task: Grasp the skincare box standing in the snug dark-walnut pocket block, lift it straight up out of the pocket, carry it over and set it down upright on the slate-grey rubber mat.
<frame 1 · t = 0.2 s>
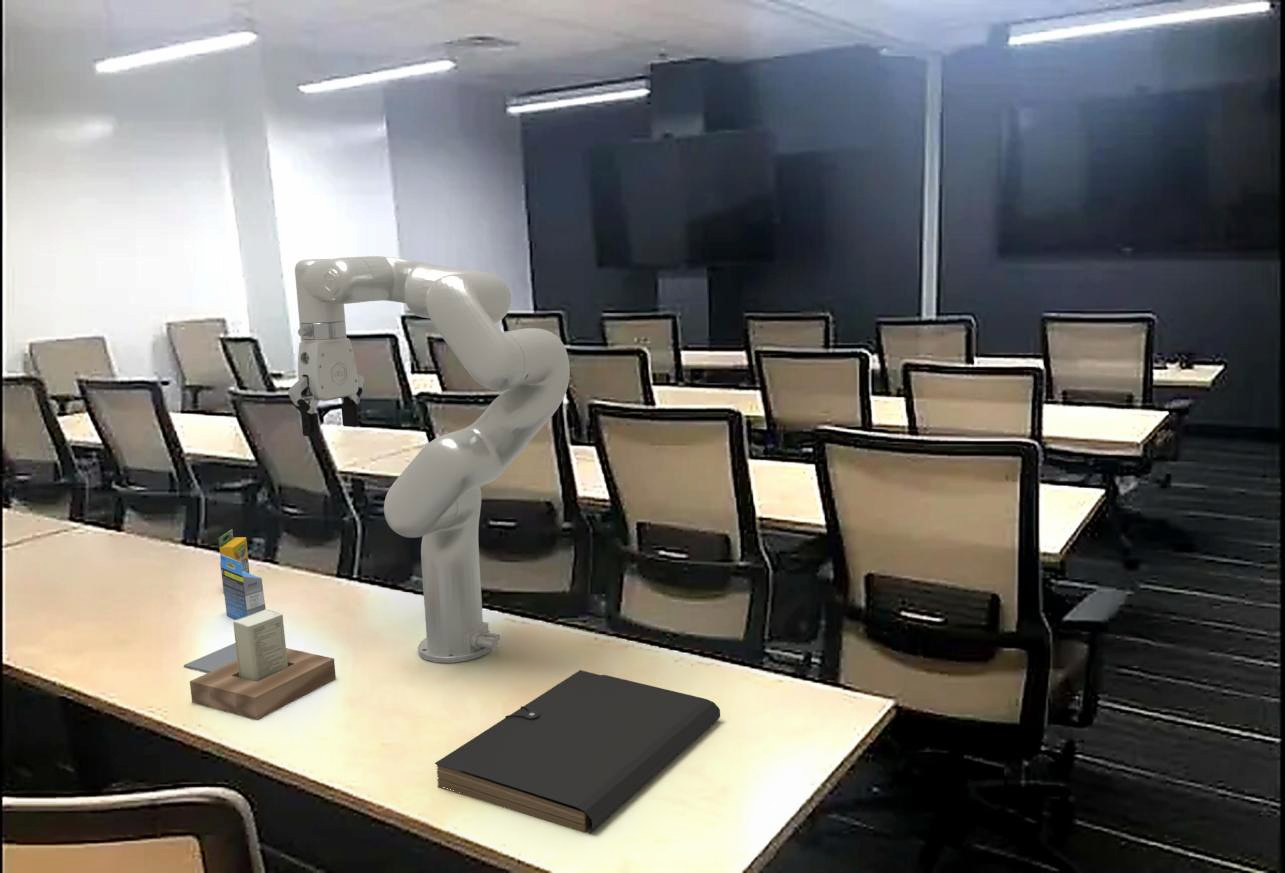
hand: (331, 431, 184), 36 cm above the table, tool pointing down, fingers open, 9 cm apart
label tape box: (246, 619, 199), on the table
slate mat: (238, 660, 179), on the table
pocket block: (265, 690, 166), on the table
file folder: (585, 757, 144), on the table
crayon box: (237, 589, 217), on the table
skincare box: (265, 692, 166), resting in pocket block
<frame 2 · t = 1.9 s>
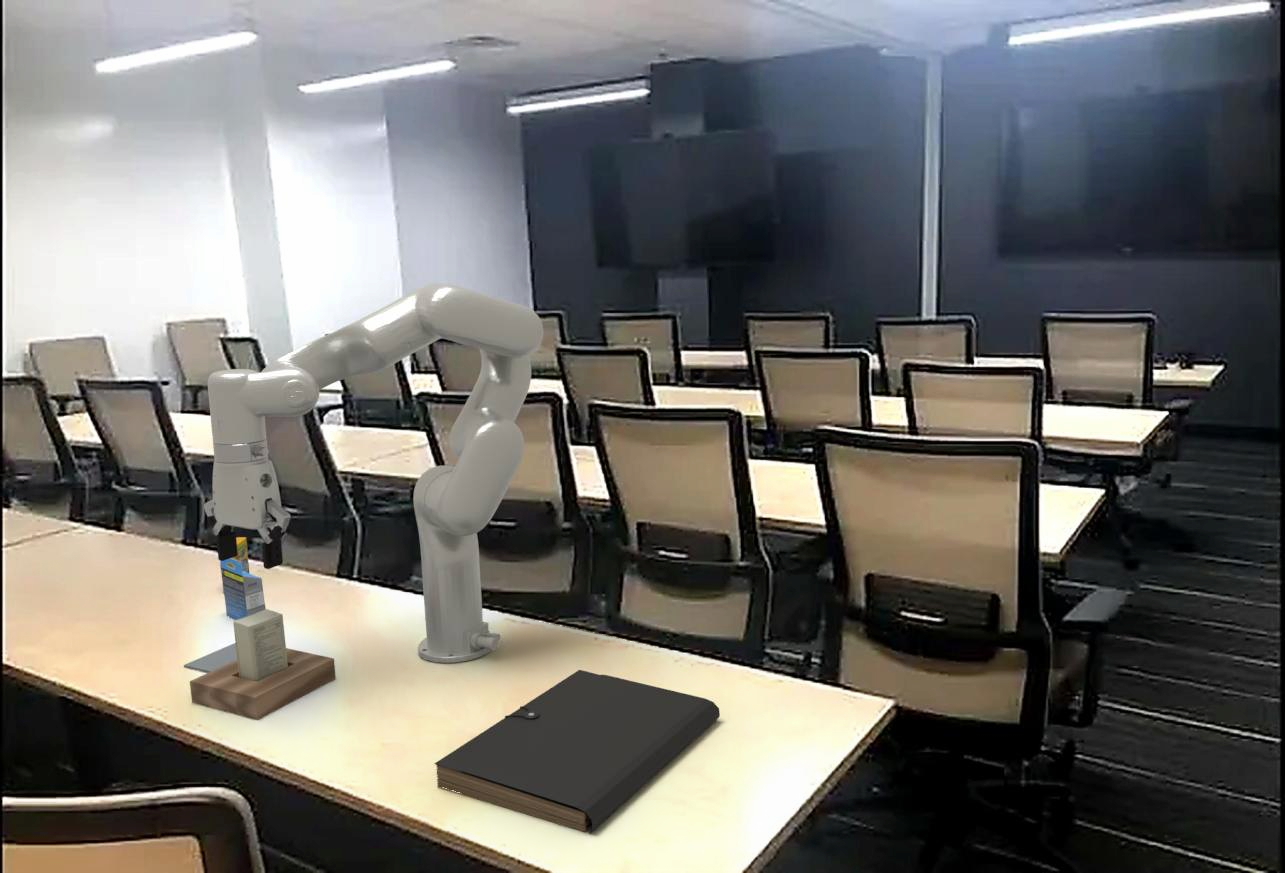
hand: (250, 562, 162), 21 cm above the table, tool pointing down, fingers open, 9 cm apart
nothing on the table moved.
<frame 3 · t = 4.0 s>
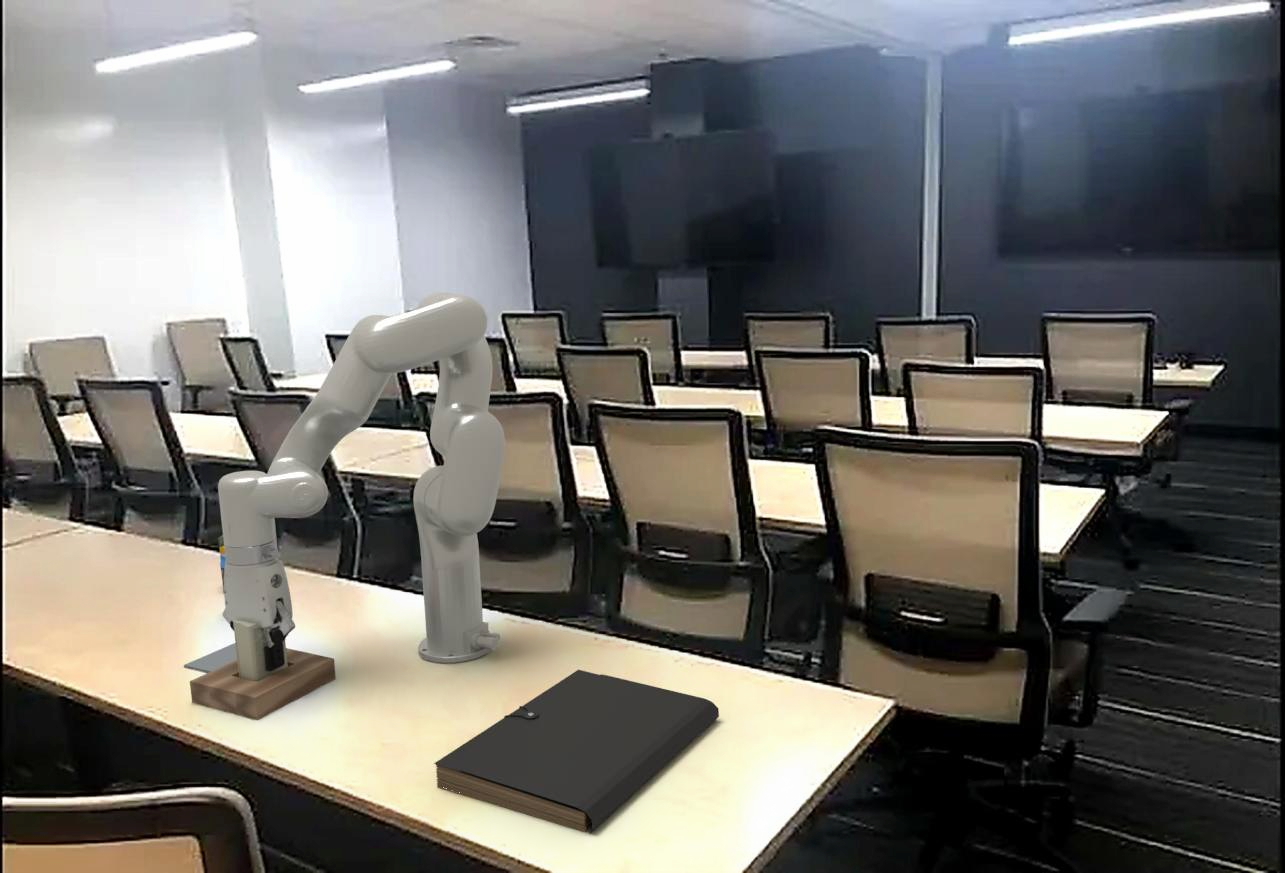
hand: (262, 664, 165), 4 cm above the table, tool pointing down, fingers closed on skincare box, 4 cm apart
skincare box: (265, 691, 166), resting in pocket block, touching gripper
everything else where it was.
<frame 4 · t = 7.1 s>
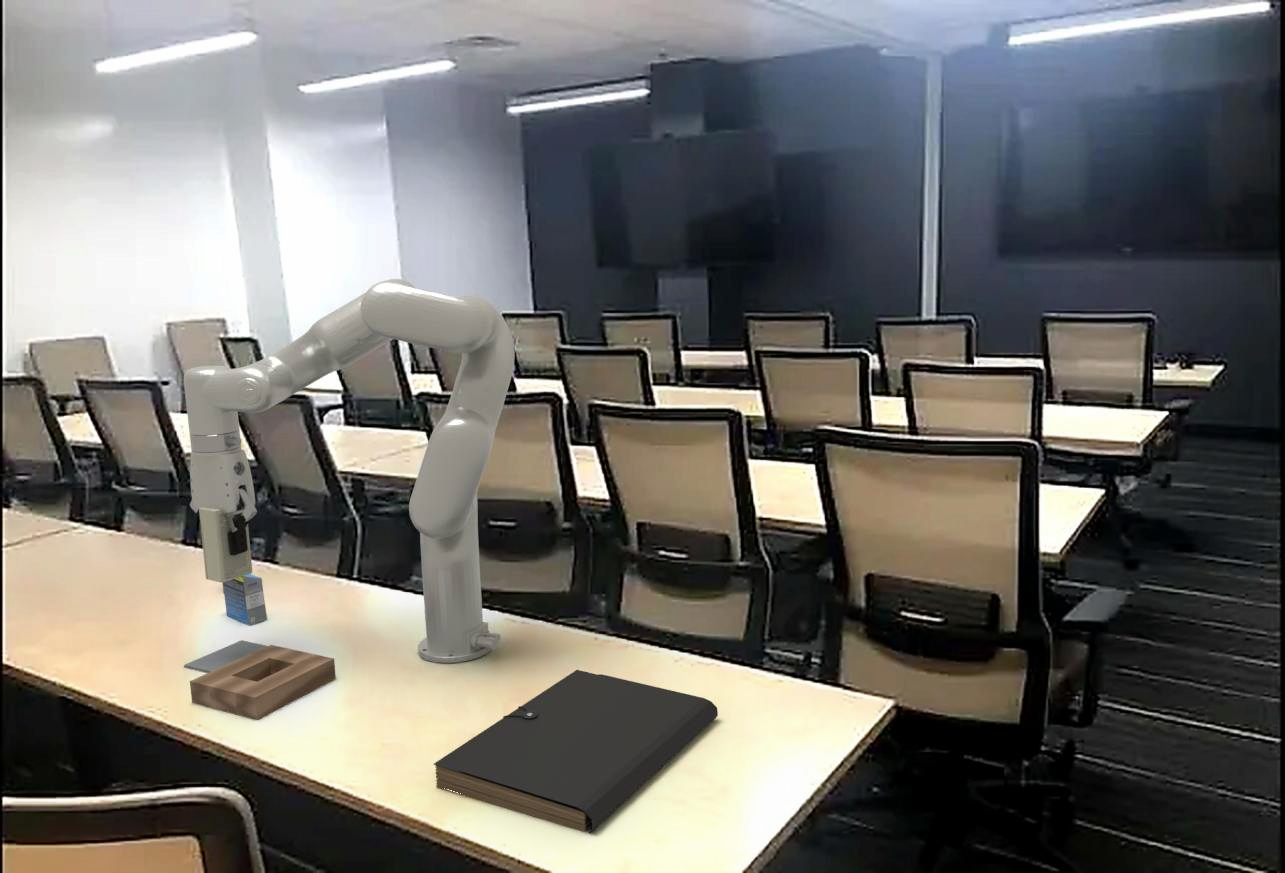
hand: (227, 550, 175), 19 cm above the table, tool pointing down, fingers closed on skincare box, 4 cm apart
skincare box: (229, 578, 176), point 15 cm above the table, touching gripper
everything else where it was.
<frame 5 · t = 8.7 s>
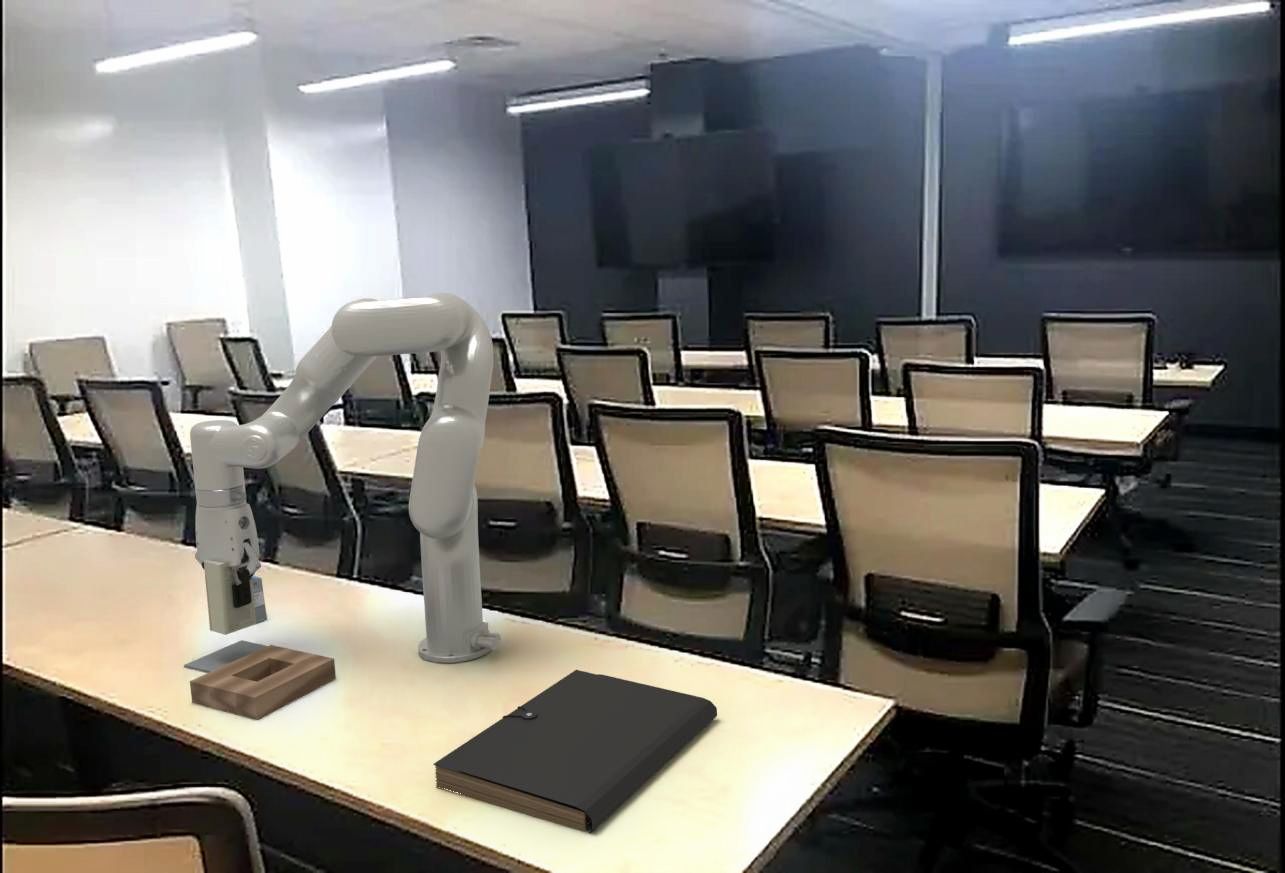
hand: (231, 602, 177), 10 cm above the table, tool pointing down, fingers closed on skincare box, 4 cm apart
skincare box: (233, 629, 177), point 6 cm above the table, touching gripper
everything else where it was.
when the fingers open (6 cm above the table, at t = 10.3 s): skincare box drops 1 cm, resting on slate mat.
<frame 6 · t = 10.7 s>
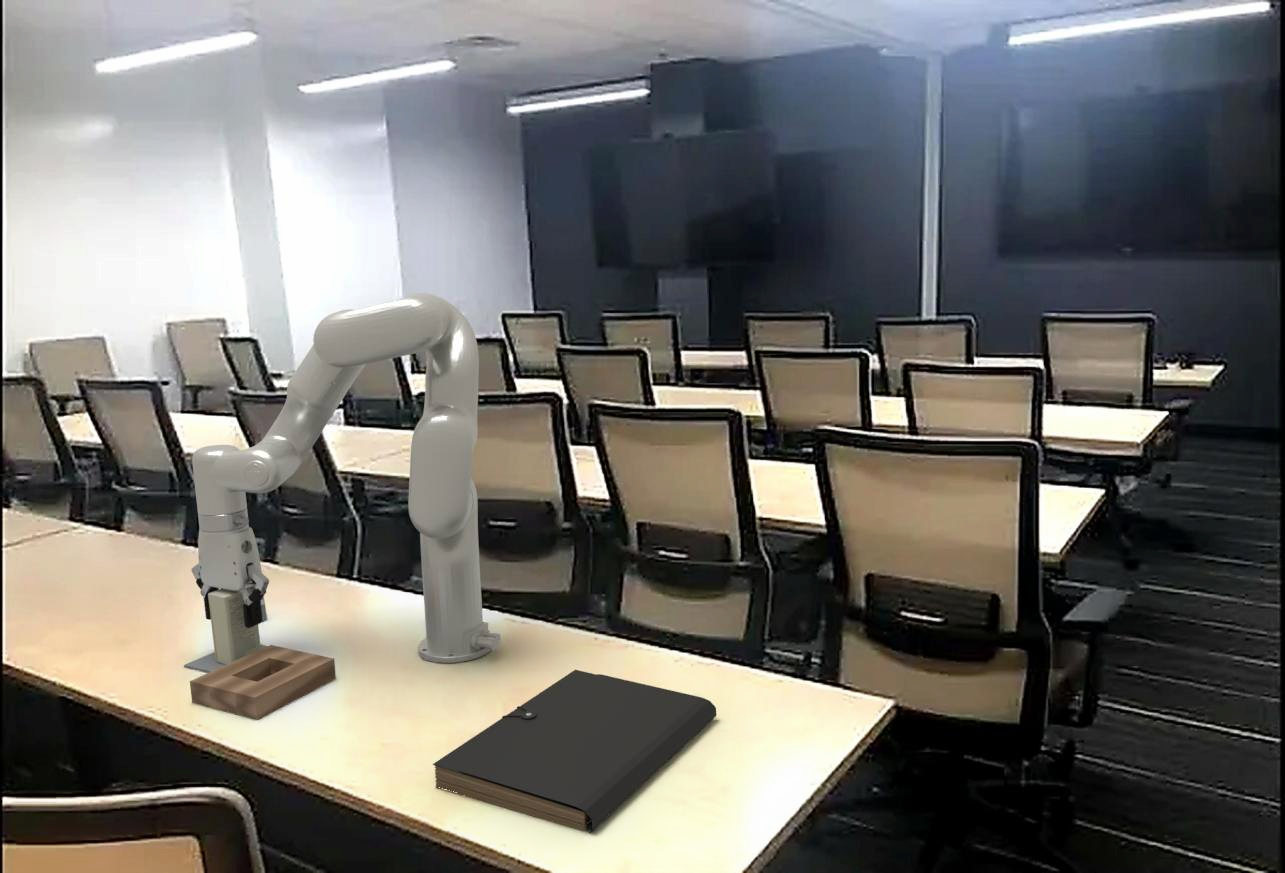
hand: (234, 620, 177), 7 cm above the table, tool pointing down, fingers open, 8 cm apart
skincare box: (238, 659, 178), resting on slate mat
everything else where it was.
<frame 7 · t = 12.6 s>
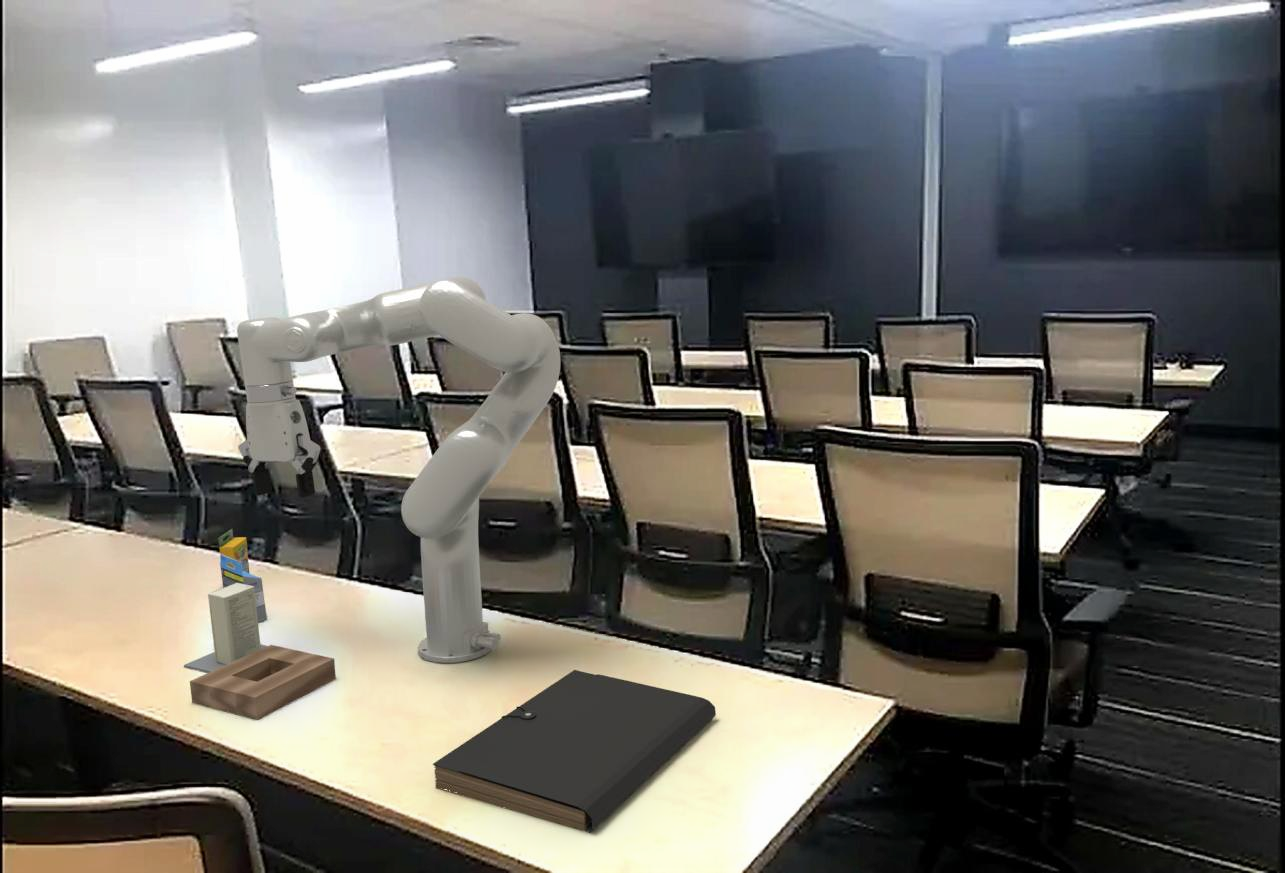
hand: (285, 494, 178), 27 cm above the table, tool pointing down, fingers open, 9 cm apart
nothing on the table moved.
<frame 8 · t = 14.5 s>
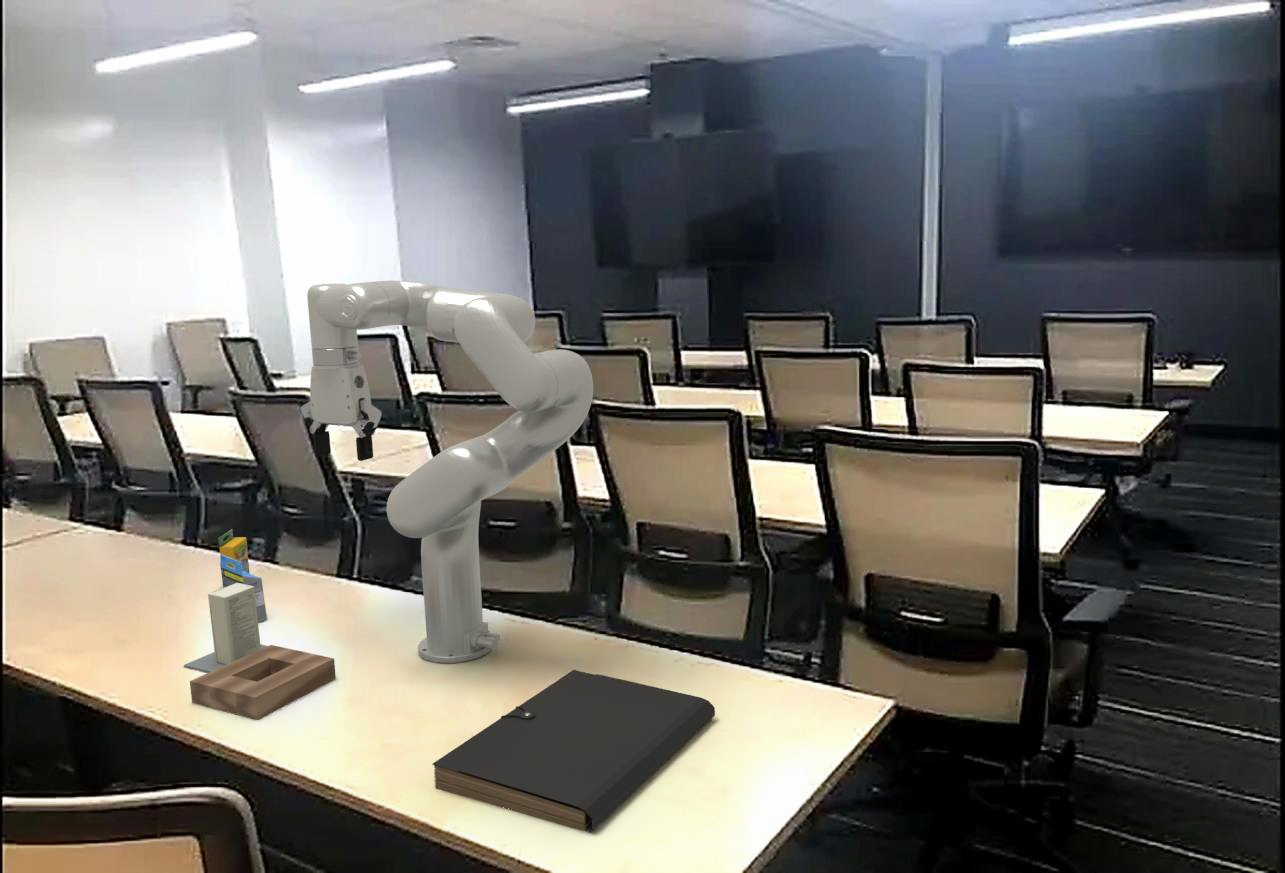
hand: (344, 457, 182), 32 cm above the table, tool pointing down, fingers open, 9 cm apart
nothing on the table moved.
at the end: skincare box inside the target area on the slate mat (0.4 cm from its centre), point 0.2 cm above the slate mat's base; skincare box tilted 0°; the gripper is holding nothing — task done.
